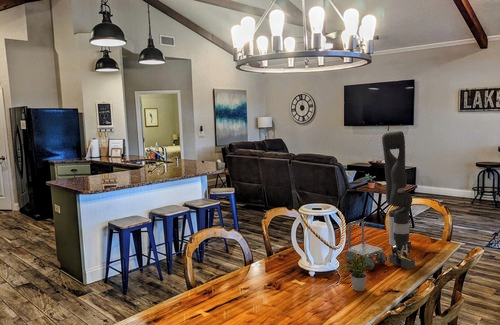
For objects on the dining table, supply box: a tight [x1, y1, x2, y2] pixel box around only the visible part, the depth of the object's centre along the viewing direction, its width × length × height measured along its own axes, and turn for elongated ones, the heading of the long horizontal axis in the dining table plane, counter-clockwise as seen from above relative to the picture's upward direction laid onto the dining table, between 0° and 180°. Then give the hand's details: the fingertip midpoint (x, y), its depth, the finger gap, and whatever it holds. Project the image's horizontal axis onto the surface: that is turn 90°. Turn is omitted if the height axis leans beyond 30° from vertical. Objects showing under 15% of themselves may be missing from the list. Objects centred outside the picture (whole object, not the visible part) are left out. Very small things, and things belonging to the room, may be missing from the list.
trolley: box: [344, 218, 388, 270], centre depth 202 cm, size 18×12×22 cm, turn 35°
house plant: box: [340, 252, 369, 292], centre depth 174 cm, size 14×14×16 cm
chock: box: [388, 253, 416, 270], centre depth 198 cm, size 13×4×4 cm, turn 23°
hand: (401, 263), depth 199 cm, fingers closed on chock, 5 cm apart
